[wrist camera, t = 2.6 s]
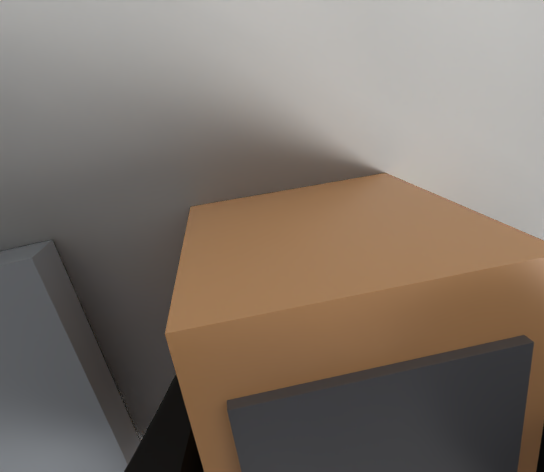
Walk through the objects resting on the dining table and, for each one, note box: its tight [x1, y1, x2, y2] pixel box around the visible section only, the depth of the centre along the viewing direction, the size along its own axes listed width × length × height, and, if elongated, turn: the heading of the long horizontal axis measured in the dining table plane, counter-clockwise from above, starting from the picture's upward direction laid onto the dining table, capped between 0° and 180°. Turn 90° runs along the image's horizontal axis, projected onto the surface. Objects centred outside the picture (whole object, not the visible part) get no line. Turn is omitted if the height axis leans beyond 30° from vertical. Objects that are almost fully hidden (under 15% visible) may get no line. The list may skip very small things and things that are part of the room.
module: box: [165, 173, 544, 472], centre depth 8 cm, size 8×4×5 cm, turn 8°
